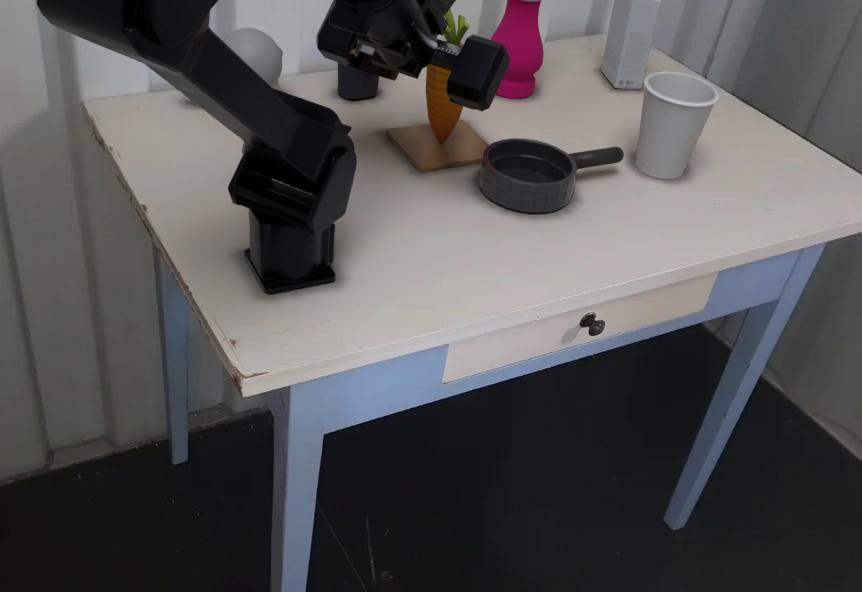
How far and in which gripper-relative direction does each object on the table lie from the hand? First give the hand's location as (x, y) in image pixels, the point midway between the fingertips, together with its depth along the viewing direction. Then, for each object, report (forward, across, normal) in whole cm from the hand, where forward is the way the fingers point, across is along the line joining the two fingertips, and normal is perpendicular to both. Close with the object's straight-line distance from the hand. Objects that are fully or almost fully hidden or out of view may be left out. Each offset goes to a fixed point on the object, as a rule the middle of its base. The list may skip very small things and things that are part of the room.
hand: (433, 89), depth 97 cm
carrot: (+8, 0, +3) cm, 9 cm away
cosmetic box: (+32, -10, -20) cm, 39 cm away
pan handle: (+10, -17, -1) cm, 19 cm away
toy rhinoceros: (+4, +24, +8) cm, 26 cm away
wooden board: (+8, 0, +3) cm, 9 cm away
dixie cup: (+17, -22, -6) cm, 29 cm away
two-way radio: (+12, +14, 0) cm, 18 cm away
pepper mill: (+23, +1, -11) cm, 25 cm away
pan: (+7, -12, +5) cm, 14 cm away
